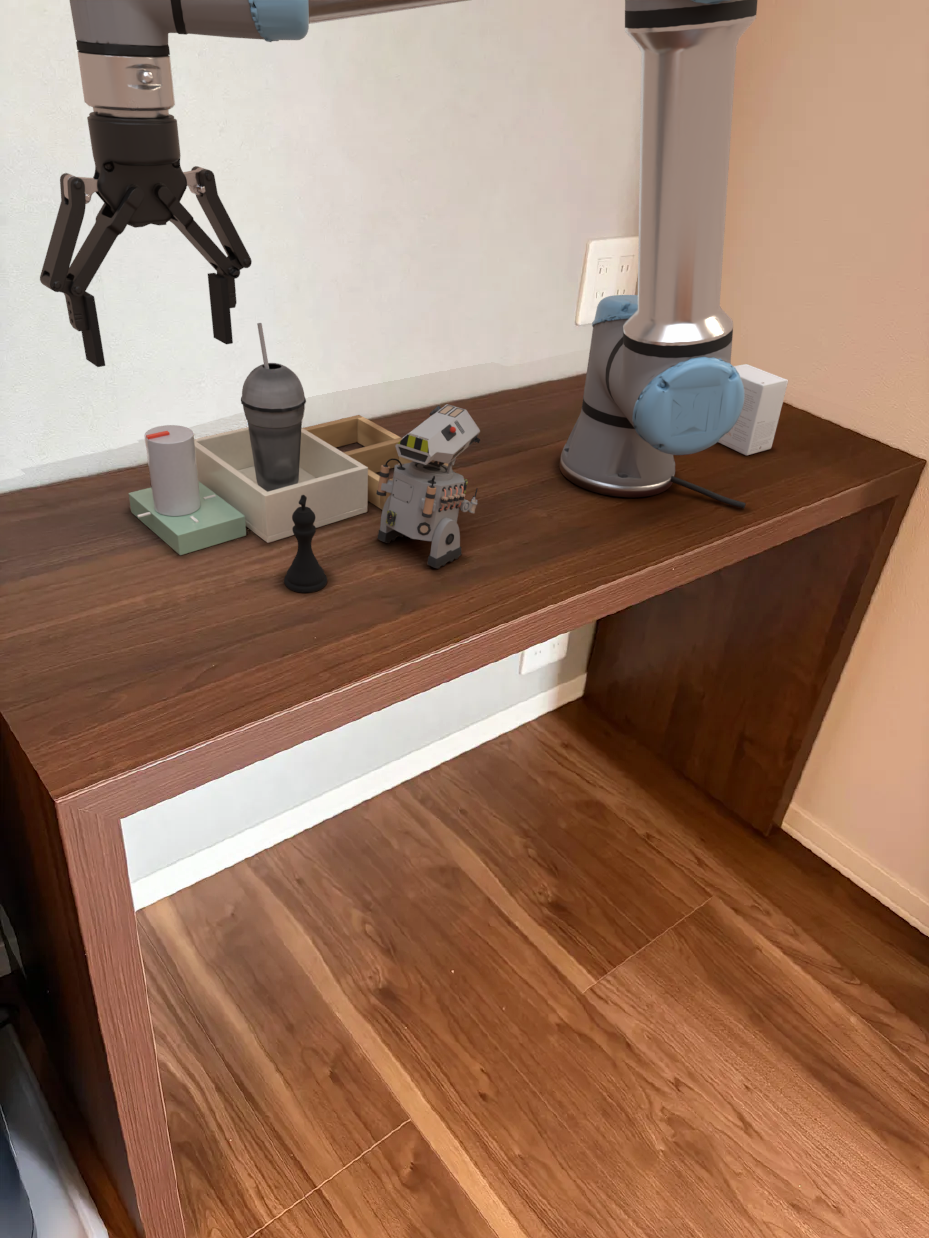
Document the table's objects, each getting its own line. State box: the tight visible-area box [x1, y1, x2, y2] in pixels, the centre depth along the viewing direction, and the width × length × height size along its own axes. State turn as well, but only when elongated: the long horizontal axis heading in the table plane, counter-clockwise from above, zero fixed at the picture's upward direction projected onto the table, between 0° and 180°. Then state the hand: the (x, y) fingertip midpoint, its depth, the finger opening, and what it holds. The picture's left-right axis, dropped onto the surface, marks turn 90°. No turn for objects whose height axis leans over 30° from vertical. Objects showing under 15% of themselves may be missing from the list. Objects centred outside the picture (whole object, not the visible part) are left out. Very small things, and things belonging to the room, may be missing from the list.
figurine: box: [376, 403, 481, 569], centre depth 100 cm, size 9×12×15 cm
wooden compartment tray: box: [302, 414, 448, 510], centre depth 117 cm, size 20×10×4 cm, turn 41°
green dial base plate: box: [128, 481, 247, 556], centre depth 103 cm, size 12×10×3 cm
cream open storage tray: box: [194, 426, 369, 544], centre depth 109 cm, size 18×14×6 cm
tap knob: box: [144, 424, 201, 516], centre depth 99 cm, size 5×5×9 cm
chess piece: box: [283, 495, 328, 594], centre depth 92 cm, size 4×4×10 cm
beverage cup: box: [240, 322, 307, 492], centre depth 105 cm, size 7×7×20 cm
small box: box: [717, 363, 789, 456], centre depth 133 cm, size 8×6×10 cm
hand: (162, 351), depth 92 cm, fingers open, 13 cm apart
